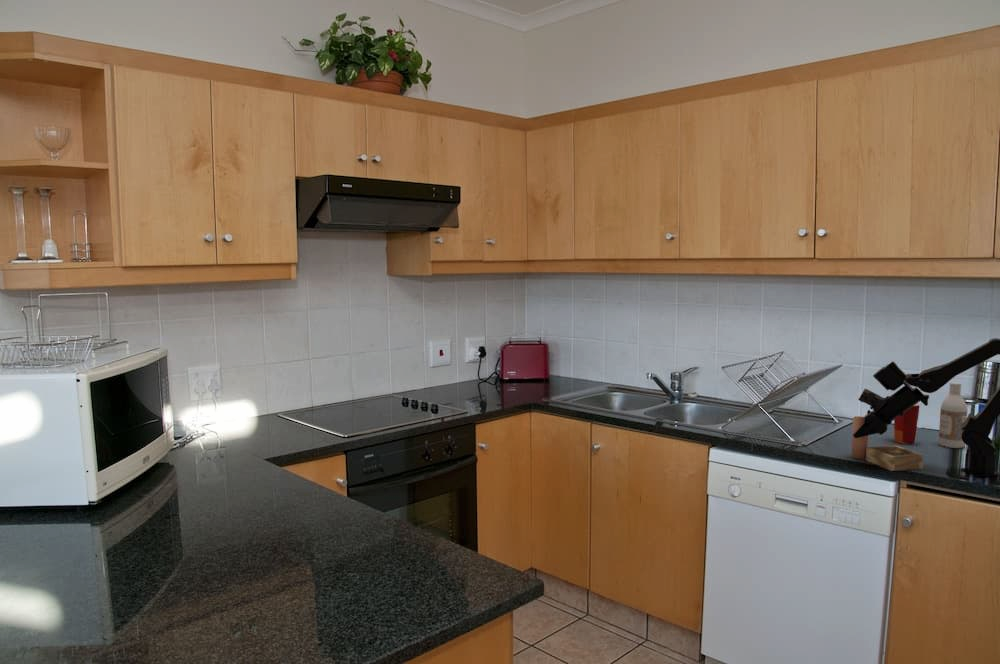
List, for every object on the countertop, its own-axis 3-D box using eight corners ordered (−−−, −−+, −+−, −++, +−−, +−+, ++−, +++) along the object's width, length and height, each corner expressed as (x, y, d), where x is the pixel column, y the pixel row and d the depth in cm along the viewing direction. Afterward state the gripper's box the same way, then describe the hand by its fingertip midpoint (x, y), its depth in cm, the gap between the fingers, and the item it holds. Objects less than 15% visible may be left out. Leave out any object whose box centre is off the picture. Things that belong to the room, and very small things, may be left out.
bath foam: (933, 443, 223) (936, 381, 221) (949, 441, 225) (953, 380, 223) (953, 449, 217) (957, 385, 214) (970, 447, 219) (974, 384, 216)
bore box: (922, 468, 198) (923, 454, 198) (891, 471, 196) (892, 457, 196) (895, 458, 208) (896, 445, 207) (865, 460, 206) (866, 447, 205)
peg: (869, 458, 208) (871, 419, 206) (857, 459, 207) (859, 419, 206) (860, 455, 212) (862, 415, 210) (848, 455, 211) (850, 416, 210)
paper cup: (920, 441, 226) (923, 398, 224) (915, 446, 220) (917, 402, 218) (893, 437, 231) (895, 395, 229) (887, 442, 225) (889, 399, 224)
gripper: (880, 376, 212) (839, 408, 220) (875, 386, 197) (830, 420, 204) (909, 404, 209) (866, 436, 216) (906, 417, 193) (859, 450, 201)
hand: (855, 435), depth 209 cm, fingers closed on peg, 4 cm apart
